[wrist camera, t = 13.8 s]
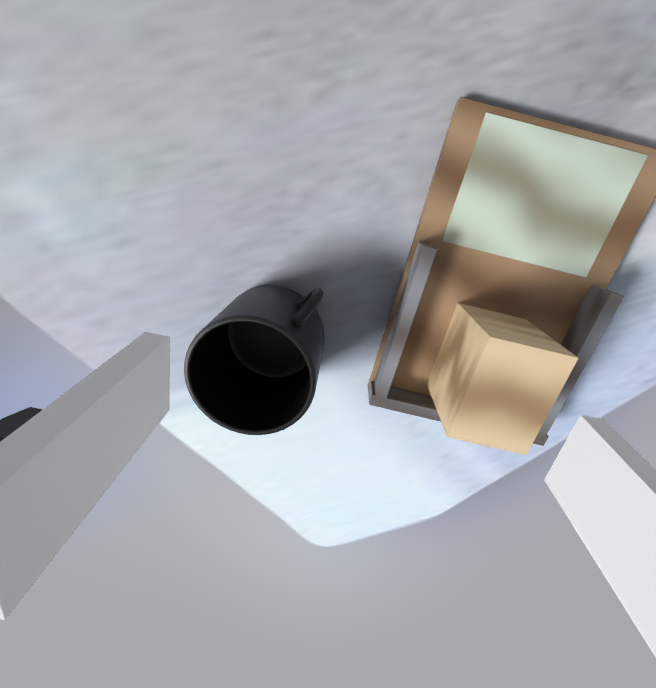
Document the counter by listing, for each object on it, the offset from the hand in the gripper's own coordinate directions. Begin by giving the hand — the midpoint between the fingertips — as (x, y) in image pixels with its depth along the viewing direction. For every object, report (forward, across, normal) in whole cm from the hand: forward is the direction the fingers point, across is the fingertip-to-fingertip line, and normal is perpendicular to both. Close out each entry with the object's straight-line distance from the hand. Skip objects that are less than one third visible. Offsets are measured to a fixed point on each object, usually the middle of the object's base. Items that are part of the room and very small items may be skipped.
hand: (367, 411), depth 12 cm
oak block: (+20, +12, -5) cm, 24 cm away
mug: (+22, -6, -7) cm, 23 cm away
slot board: (+22, +12, 0) cm, 25 cm away
